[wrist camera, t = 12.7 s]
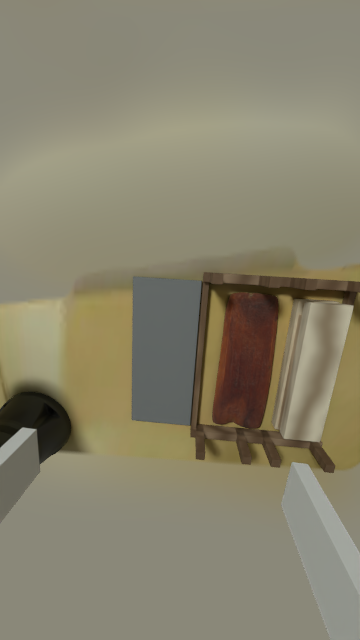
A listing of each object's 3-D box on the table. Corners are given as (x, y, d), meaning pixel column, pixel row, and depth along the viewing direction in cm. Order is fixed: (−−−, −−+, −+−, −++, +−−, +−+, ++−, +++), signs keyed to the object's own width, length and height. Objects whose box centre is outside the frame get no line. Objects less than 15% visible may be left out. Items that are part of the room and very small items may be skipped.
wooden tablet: (259, 426, 43) (262, 432, 42) (210, 420, 44) (211, 426, 42) (285, 295, 37) (289, 296, 35) (227, 290, 37) (228, 291, 36)
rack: (190, 429, 44) (190, 458, 38) (203, 272, 37) (206, 272, 30) (315, 441, 43) (337, 473, 36) (353, 281, 36) (391, 284, 29)
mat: (132, 418, 45) (131, 420, 44) (134, 276, 38) (133, 276, 37) (189, 423, 44) (189, 425, 43) (201, 280, 37) (201, 281, 37)
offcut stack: (271, 422, 43) (282, 443, 38) (293, 298, 37) (310, 303, 32) (304, 425, 43) (320, 447, 37) (332, 301, 37) (355, 306, 32)
